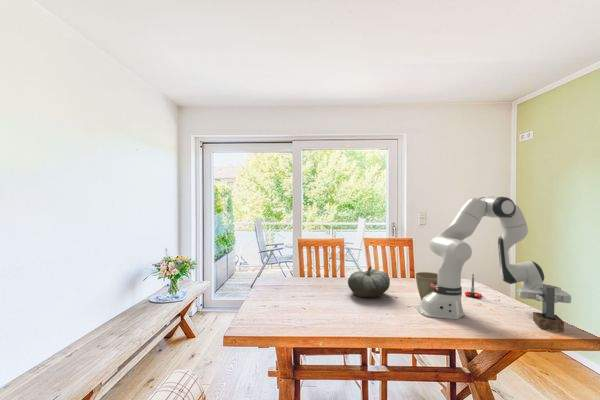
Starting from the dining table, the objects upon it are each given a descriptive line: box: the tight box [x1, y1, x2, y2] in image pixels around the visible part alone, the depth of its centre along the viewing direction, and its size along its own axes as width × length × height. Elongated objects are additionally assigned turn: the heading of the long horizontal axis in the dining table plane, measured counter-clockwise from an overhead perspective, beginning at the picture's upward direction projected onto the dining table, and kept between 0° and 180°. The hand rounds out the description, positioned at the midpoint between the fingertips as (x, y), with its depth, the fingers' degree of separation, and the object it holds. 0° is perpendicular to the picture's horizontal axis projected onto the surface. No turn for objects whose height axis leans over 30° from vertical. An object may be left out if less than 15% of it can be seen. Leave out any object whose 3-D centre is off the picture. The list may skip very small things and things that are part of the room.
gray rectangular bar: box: [541, 283, 556, 320], centre depth 142 cm, size 3×5×16 cm, turn 158°
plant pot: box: [415, 271, 437, 302], centre depth 172 cm, size 15×15×16 cm
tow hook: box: [464, 273, 483, 299], centre depth 186 cm, size 9×14×10 cm
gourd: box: [347, 266, 391, 298], centre depth 186 cm, size 25×25×17 cm
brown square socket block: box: [532, 311, 565, 332], centre depth 142 cm, size 9×9×4 cm
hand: (549, 300), depth 141 cm, fingers closed on gray rectangular bar, 3 cm apart
